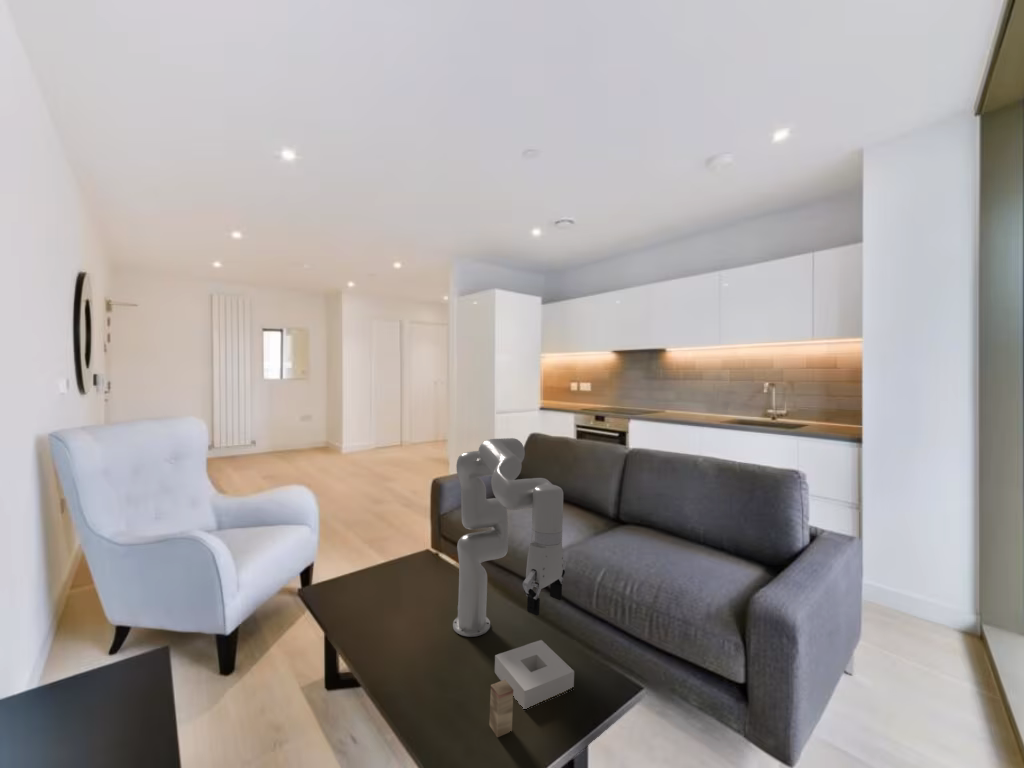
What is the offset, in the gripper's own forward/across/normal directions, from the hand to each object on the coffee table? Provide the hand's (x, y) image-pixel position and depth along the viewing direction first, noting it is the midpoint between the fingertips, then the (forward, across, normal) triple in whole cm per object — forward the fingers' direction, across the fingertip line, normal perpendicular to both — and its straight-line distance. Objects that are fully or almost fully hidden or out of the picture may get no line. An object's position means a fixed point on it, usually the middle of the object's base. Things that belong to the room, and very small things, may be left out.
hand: (544, 605), depth 106 cm
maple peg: (+29, +8, -6) cm, 31 cm away
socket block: (+29, -11, -10) cm, 32 cm away
